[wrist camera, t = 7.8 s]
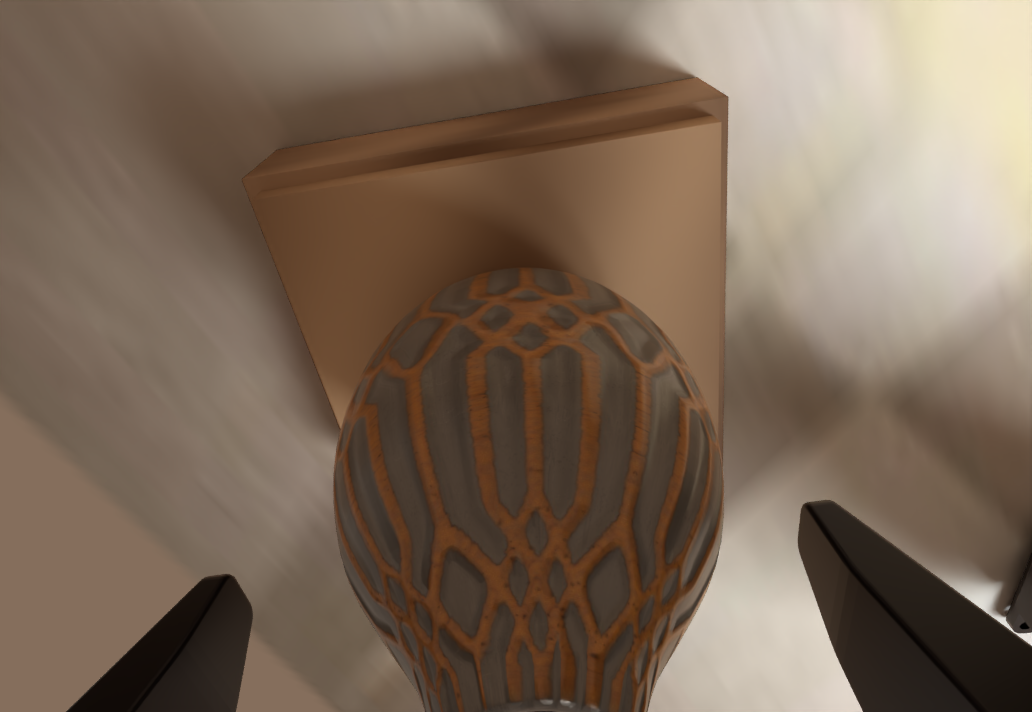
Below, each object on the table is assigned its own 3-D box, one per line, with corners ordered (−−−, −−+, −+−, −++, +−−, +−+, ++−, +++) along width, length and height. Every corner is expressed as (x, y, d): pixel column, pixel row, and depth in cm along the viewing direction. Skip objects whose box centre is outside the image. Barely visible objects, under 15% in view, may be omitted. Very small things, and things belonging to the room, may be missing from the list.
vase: (731, 308, 14) (973, 687, 7) (571, 505, 17) (620, 908, 10) (453, 160, 12) (377, 460, 5) (332, 409, 16) (175, 818, 8)
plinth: (696, 77, 15) (737, 102, 12) (700, 420, 20) (728, 488, 17) (276, 150, 15) (231, 188, 13) (387, 461, 21) (370, 533, 18)
